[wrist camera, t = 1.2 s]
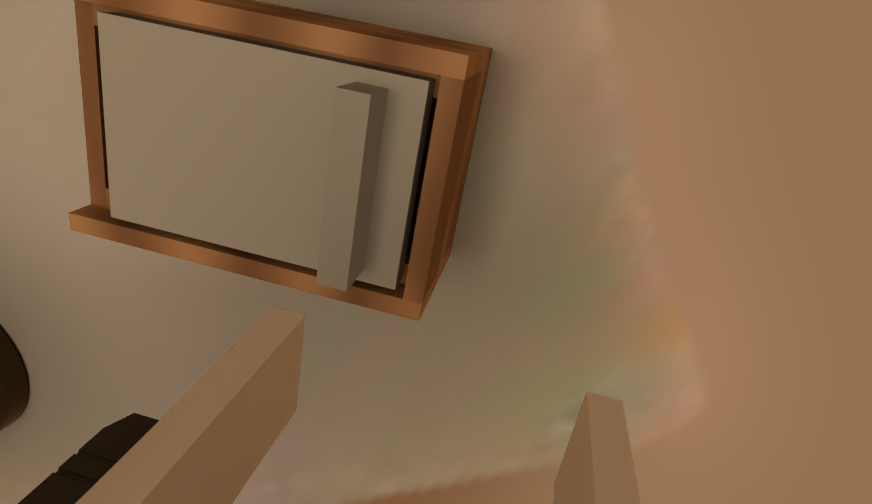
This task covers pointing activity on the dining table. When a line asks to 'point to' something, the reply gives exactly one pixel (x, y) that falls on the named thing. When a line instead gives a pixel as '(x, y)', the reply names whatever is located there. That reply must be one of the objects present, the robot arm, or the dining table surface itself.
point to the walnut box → (351, 40)
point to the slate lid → (263, 147)
